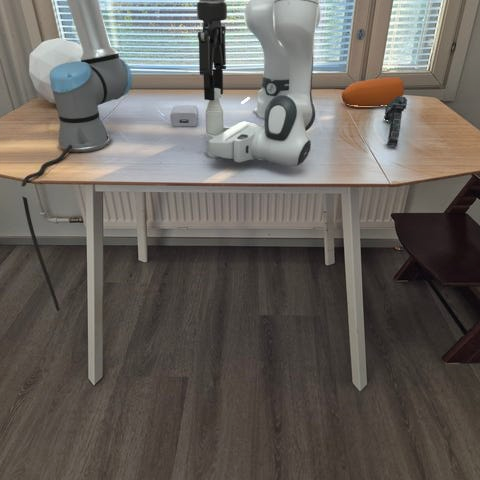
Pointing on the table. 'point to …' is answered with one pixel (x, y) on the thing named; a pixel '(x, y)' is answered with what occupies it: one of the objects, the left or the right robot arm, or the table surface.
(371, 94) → the clog
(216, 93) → the cap
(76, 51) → the decorative sphere
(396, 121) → the futuristic handgun
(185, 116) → the charger
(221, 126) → the bottle
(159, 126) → the table surface
